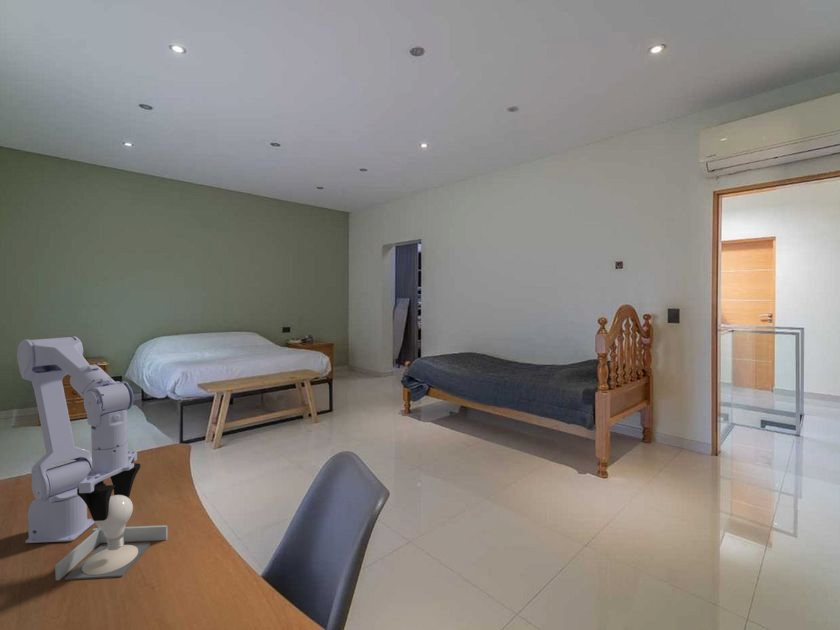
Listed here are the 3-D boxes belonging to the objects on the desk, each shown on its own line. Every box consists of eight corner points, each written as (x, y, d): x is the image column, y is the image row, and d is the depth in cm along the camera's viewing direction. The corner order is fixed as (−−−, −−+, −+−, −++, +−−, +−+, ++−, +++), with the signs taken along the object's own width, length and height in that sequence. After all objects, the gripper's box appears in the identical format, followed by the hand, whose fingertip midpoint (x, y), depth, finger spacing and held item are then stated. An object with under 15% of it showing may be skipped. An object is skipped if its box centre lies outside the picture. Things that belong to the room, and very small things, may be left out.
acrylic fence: (50, 580, 75) (49, 565, 75) (94, 541, 86) (94, 528, 86) (135, 576, 76) (135, 561, 76) (167, 538, 88) (167, 525, 88)
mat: (64, 579, 75) (64, 577, 75) (101, 546, 85) (101, 544, 85) (121, 576, 76) (121, 574, 76) (151, 543, 86) (151, 542, 86)
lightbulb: (116, 560, 77) (112, 506, 77) (87, 558, 78) (83, 504, 77) (143, 540, 84) (139, 489, 83) (115, 538, 84) (112, 488, 84)
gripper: (107, 458, 73) (109, 530, 74) (151, 431, 87) (152, 491, 88) (65, 460, 72) (67, 532, 73) (116, 431, 86) (118, 492, 87)
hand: (111, 510), depth 80 cm, fingers closed on lightbulb, 6 cm apart
